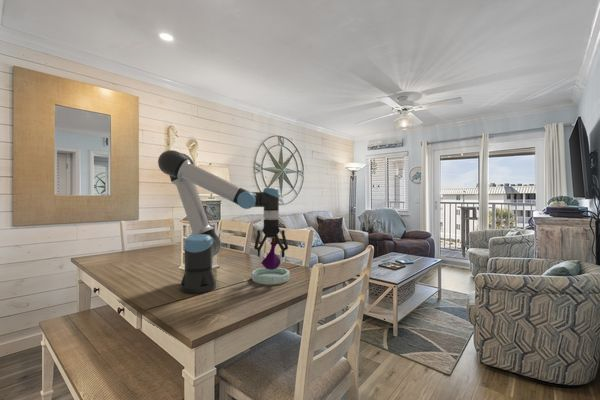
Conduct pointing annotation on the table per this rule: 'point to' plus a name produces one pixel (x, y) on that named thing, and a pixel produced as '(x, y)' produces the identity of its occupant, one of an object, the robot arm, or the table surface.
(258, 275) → the round tray
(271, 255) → the perfume bottle
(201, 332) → the table surface
